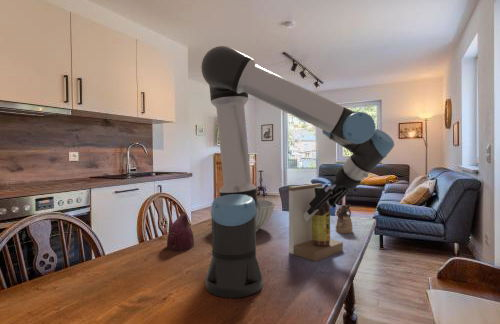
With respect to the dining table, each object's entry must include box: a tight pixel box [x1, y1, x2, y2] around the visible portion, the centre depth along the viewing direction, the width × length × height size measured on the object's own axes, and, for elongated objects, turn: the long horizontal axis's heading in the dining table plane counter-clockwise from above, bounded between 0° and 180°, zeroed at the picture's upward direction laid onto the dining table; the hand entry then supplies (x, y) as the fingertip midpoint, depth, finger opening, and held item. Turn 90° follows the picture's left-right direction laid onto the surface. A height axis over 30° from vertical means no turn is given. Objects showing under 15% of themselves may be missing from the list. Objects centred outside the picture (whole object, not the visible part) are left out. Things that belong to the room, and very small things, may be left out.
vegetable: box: [166, 211, 195, 252], centre depth 112 cm, size 10×10×15 cm
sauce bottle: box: [312, 186, 331, 246], centre depth 104 cm, size 6×6×20 cm
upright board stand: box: [287, 182, 344, 262], centre depth 105 cm, size 17×11×23 cm, turn 130°
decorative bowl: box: [256, 198, 275, 233], centre depth 136 cm, size 27×27×12 cm
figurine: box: [335, 203, 353, 234], centre depth 132 cm, size 7×7×12 cm
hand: (312, 216), depth 107 cm, fingers open, 7 cm apart
